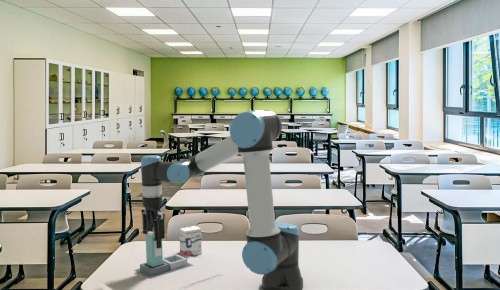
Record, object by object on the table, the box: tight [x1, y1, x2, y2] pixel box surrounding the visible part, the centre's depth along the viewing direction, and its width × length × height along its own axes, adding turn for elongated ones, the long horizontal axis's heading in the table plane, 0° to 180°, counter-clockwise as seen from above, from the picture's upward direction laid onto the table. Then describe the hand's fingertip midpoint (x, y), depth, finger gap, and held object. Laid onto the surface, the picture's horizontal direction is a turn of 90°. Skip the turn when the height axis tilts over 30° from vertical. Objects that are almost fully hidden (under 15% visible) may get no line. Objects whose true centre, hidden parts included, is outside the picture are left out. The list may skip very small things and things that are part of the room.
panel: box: [134, 253, 194, 280], centre depth 185 cm, size 12×20×4 cm, turn 134°
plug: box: [145, 231, 164, 267], centre depth 181 cm, size 4×4×13 cm
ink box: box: [178, 225, 203, 257], centre depth 203 cm, size 8×5×12 cm, turn 123°
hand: (154, 254), depth 181 cm, fingers closed on plug, 4 cm apart
